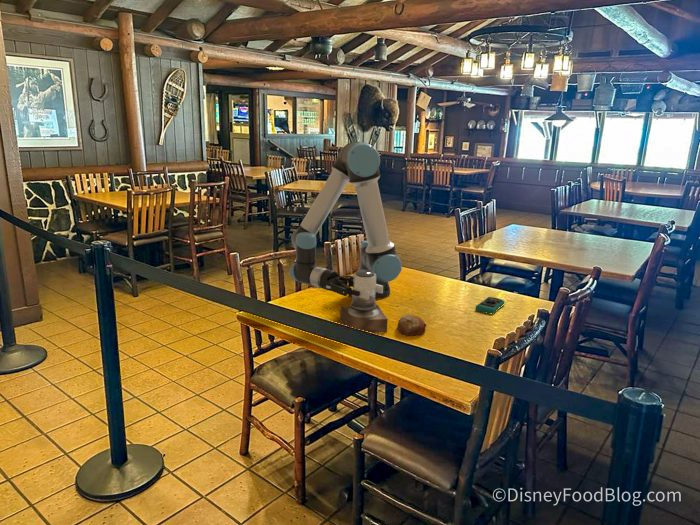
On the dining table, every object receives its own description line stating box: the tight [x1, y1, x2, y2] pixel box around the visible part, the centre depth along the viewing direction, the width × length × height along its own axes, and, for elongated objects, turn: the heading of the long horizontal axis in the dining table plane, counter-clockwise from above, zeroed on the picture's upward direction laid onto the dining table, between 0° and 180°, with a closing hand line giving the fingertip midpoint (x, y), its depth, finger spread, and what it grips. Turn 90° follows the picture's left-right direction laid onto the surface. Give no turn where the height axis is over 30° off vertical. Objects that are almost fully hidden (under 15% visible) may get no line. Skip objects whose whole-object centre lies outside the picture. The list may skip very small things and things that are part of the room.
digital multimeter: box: [475, 296, 505, 315], centre depth 202 cm, size 7×15×3 cm, turn 146°
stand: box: [339, 304, 388, 334], centre depth 179 cm, size 14×14×5 cm
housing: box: [350, 269, 378, 312], centre depth 176 cm, size 9×9×13 cm
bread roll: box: [395, 313, 427, 338], centre depth 176 cm, size 10×10×8 cm
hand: (375, 292), depth 174 cm, fingers closed on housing, 8 cm apart
